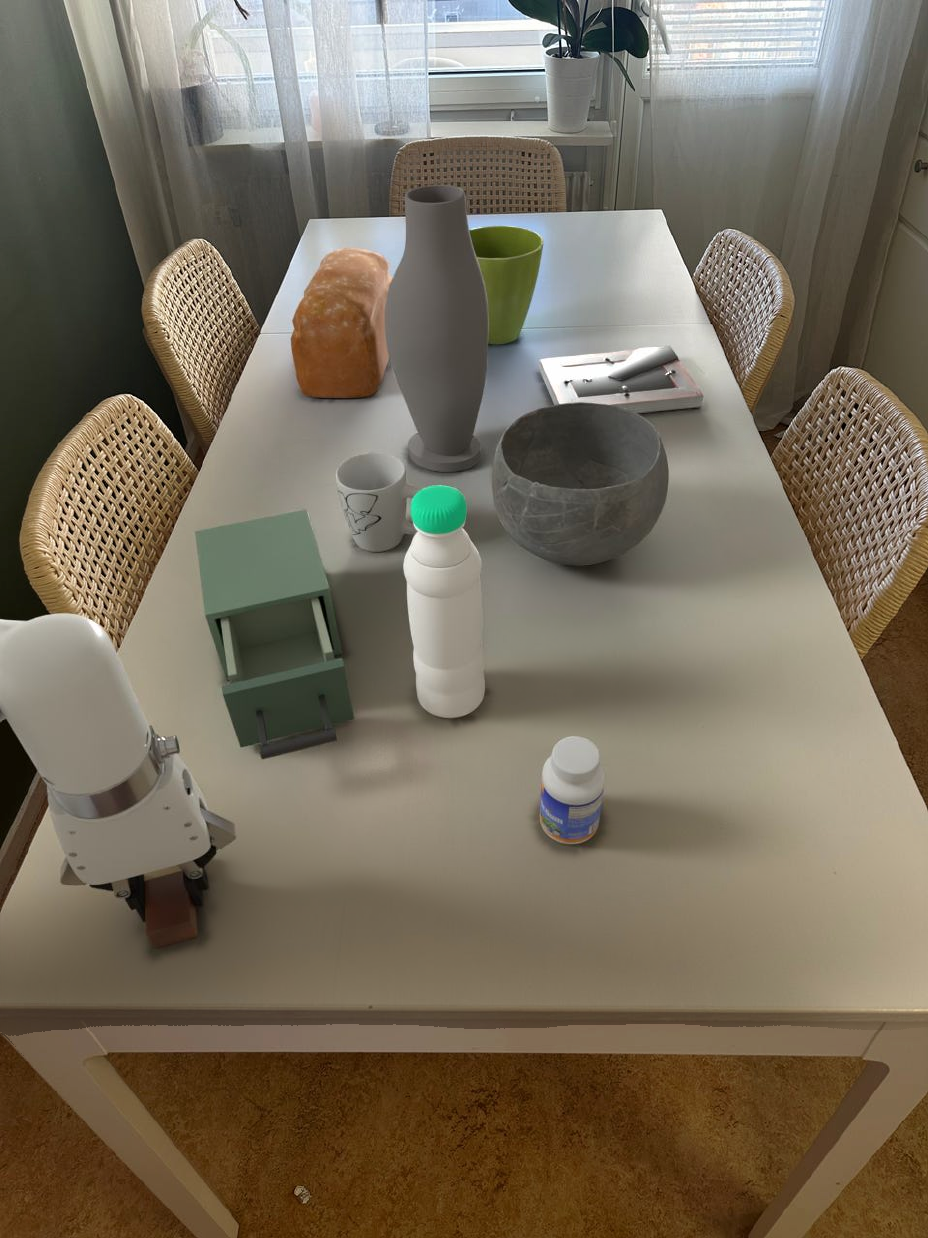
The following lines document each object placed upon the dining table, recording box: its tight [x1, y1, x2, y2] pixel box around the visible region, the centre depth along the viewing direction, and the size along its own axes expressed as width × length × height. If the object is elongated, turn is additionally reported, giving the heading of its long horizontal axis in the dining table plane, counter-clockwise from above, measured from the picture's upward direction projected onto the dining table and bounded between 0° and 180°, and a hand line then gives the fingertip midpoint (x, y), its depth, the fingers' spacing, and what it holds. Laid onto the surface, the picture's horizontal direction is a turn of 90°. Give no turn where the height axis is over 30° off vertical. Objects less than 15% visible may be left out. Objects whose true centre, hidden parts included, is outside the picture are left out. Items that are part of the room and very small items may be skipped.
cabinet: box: [194, 508, 343, 681], centre depth 96 cm, size 15×13×10 cm
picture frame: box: [538, 345, 705, 415], centre depth 135 cm, size 16×2×22 cm
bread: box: [290, 247, 393, 399], centre depth 141 cm, size 14×26×16 cm, turn 176°
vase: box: [385, 184, 489, 473], centre depth 112 cm, size 13×13×35 cm
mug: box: [335, 451, 423, 553], centre depth 106 cm, size 11×8×10 cm
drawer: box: [221, 597, 355, 760], centre depth 86 cm, size 19×11×8 cm, turn 17°
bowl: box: [490, 402, 670, 567], centre depth 103 cm, size 20×20×15 cm
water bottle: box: [403, 484, 486, 719], centre depth 82 cm, size 7×7×25 cm
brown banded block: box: [144, 865, 199, 950], centre depth 73 cm, size 4×8×3 cm, turn 17°
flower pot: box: [469, 225, 545, 345], centre depth 146 cm, size 15×15×16 cm
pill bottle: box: [539, 735, 606, 845], centre depth 75 cm, size 5×5×10 cm
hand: (172, 897), depth 74 cm, fingers closed on brown banded block, 3 cm apart
